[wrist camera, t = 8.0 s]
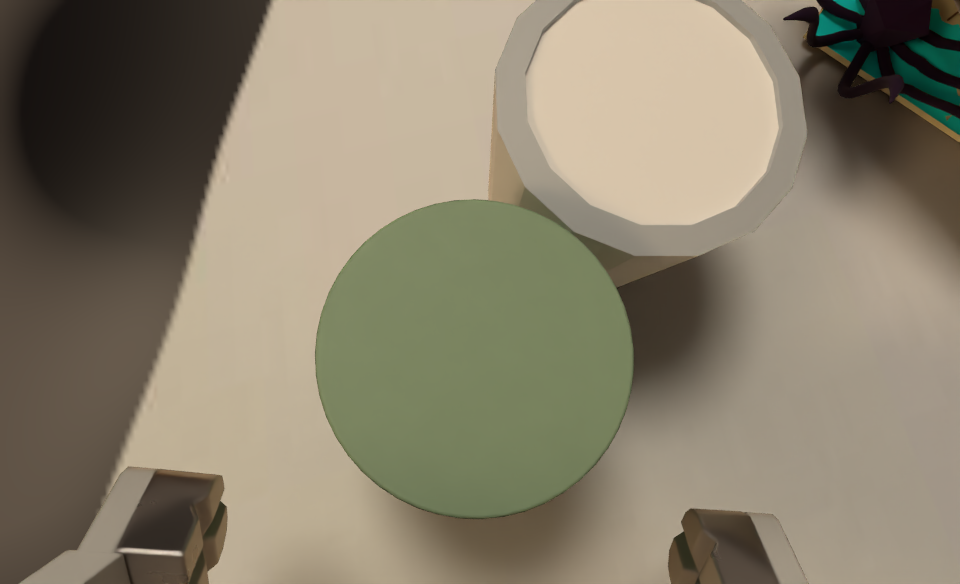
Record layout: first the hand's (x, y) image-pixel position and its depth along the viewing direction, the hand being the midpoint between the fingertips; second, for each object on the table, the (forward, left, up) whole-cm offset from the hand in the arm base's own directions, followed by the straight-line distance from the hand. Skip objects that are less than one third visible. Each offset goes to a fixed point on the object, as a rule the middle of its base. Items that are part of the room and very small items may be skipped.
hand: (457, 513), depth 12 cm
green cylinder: (+1, -3, -7) cm, 8 cm away
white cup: (0, -9, -7) cm, 12 cm away
